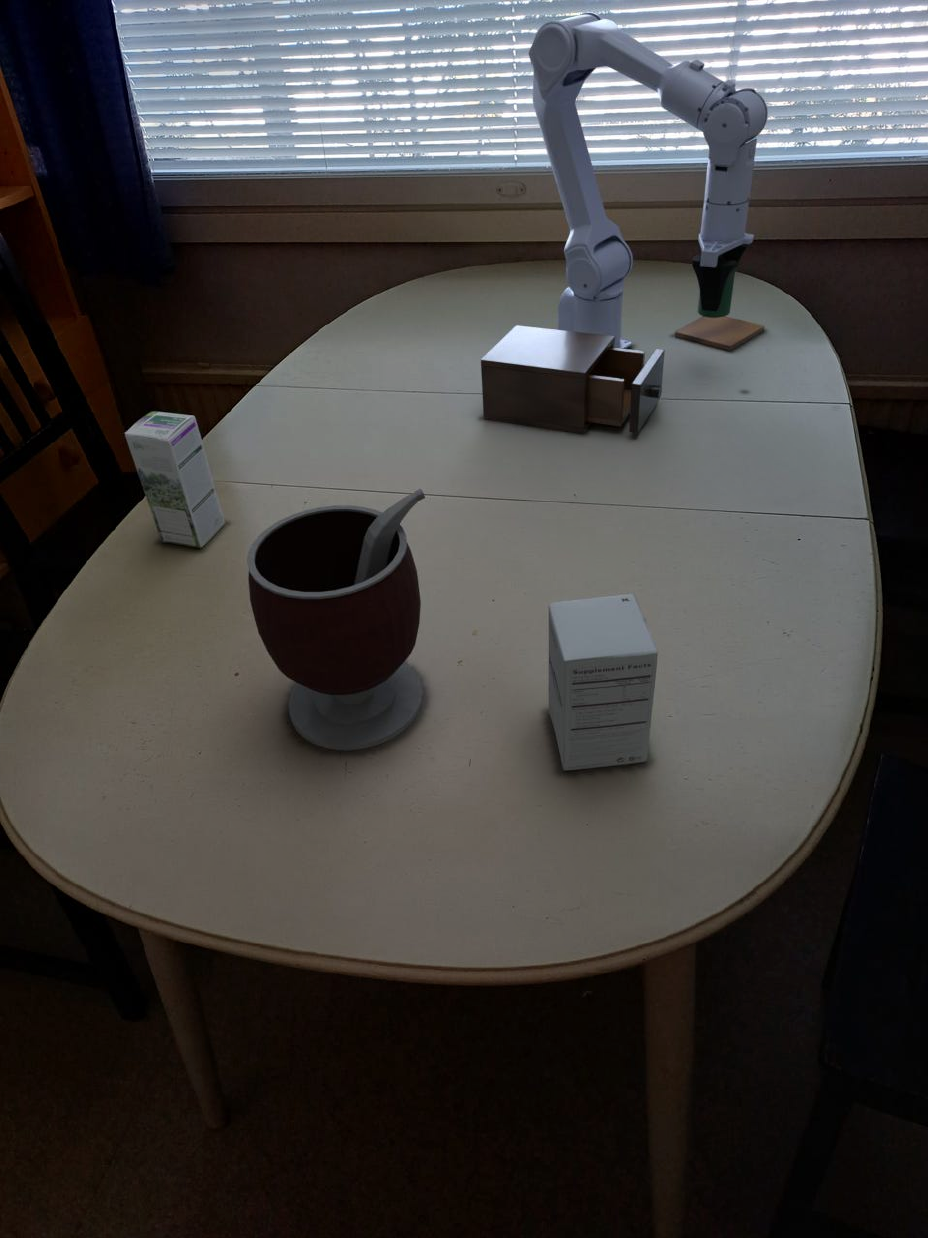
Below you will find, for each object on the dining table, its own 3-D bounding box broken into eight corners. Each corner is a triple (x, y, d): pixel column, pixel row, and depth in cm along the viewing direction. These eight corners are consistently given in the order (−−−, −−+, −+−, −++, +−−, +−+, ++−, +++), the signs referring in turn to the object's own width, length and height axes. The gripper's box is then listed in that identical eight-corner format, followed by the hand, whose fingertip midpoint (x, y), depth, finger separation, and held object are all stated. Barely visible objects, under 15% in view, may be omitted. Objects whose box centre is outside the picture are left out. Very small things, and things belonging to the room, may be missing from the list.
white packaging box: (546, 711, 80) (546, 599, 72) (628, 702, 80) (637, 590, 72) (560, 774, 74) (561, 660, 66) (649, 764, 75) (660, 650, 67)
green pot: (688, 313, 126) (692, 266, 122) (708, 302, 129) (713, 255, 125) (719, 321, 123) (724, 273, 119) (739, 310, 126) (745, 262, 122)
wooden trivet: (674, 336, 143) (675, 331, 143) (709, 317, 148) (709, 312, 148) (730, 351, 137) (730, 346, 137) (764, 330, 143) (764, 325, 142)
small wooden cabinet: (612, 394, 128) (615, 335, 123) (583, 434, 120) (585, 373, 114) (517, 381, 134) (516, 324, 128) (483, 418, 125) (480, 359, 120)
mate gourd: (304, 778, 76) (255, 590, 63) (264, 678, 86) (215, 498, 73) (471, 718, 80) (457, 531, 67) (415, 630, 90) (393, 452, 77)
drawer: (669, 397, 124) (673, 350, 120) (646, 435, 117) (650, 386, 112) (568, 384, 130) (569, 338, 125) (540, 419, 122) (540, 371, 118)
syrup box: (227, 523, 108) (197, 412, 99) (200, 550, 104) (166, 437, 94) (186, 517, 110) (153, 407, 100) (159, 544, 105) (121, 432, 96)
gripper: (745, 216, 110) (731, 325, 119) (769, 186, 120) (754, 288, 129) (688, 213, 113) (679, 319, 121) (716, 183, 123) (705, 283, 131)
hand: (714, 303), depth 125 cm, fingers closed on green pot, 5 cm apart
